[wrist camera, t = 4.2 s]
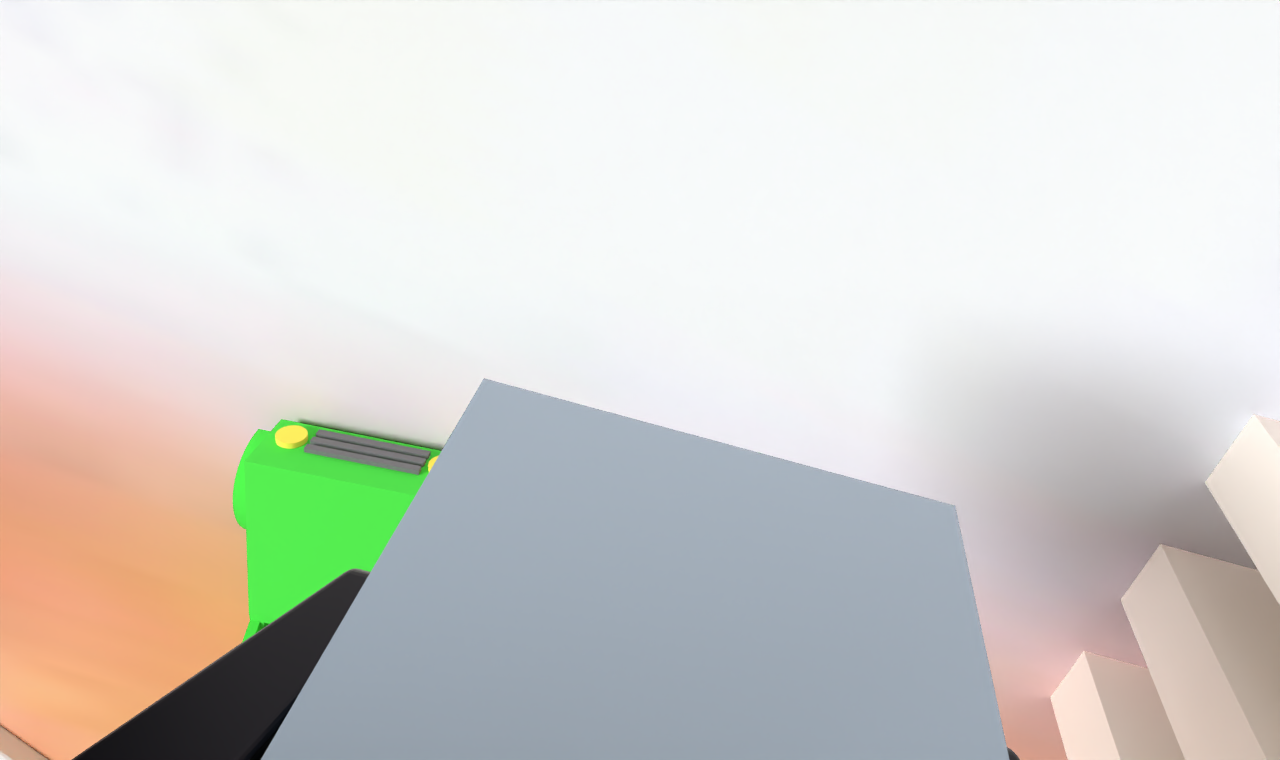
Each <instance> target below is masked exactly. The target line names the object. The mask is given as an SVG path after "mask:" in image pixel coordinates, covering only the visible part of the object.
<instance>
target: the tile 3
mask: <svg viewBox="0 0 1280 760" xmlns="http://www.w3.org/2000/svg"><path fill="white" fill-rule="evenodd" d="M1205 484H1206V485H1207V487H1208V489H1209V490H1210V492H1211V493H1212V495H1213V497H1214V498H1215V500H1216V502H1217V503H1218V505H1219V507H1220V508H1221V510H1222V512H1223V513H1224V515H1225V516H1226V518H1227V520H1228V521H1229V523H1230V525H1231V526H1232V528H1233V530H1234V531H1235V533H1236V534H1237V536H1238V538H1239V539H1240V541H1241V543H1242V544H1243V546H1244V548H1245V549H1246V551H1247V553H1248V554H1249V556H1250V557H1251V559H1252V561H1253V562H1254V564H1255V566H1256V567H1257V569H1258V571H1259V572H1260V574H1261V576H1262V577H1263V579H1264V580H1265V582H1266V584H1267V585H1268V587H1269V589H1270V590H1271V592H1272V594H1273V595H1274V597H1275V598H1276V600H1277V602H1278V603H1279V605H1280V421H1277V420H1274V419H1270V418H1266V417H1262V416H1259V415H1255V414H1253V416H1252V417H1251V418H1250V420H1249V421H1248V423H1247V424H1246V425H1245V427H1244V428H1243V430H1242V431H1241V432H1240V434H1239V435H1238V437H1237V438H1236V439H1235V441H1234V442H1233V444H1232V445H1231V446H1230V448H1229V449H1228V451H1227V452H1226V453H1225V455H1224V456H1223V458H1222V459H1221V460H1220V462H1219V463H1218V465H1217V466H1216V467H1215V469H1214V470H1213V472H1212V473H1211V474H1210V476H1209V477H1208V478H1207V480H1206V481H1205Z"/></svg>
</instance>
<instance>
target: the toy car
mask: <svg viewBox="0 0 1280 760" xmlns="http://www.w3.org/2000/svg"><path fill="white" fill-rule="evenodd" d="M440 453H441V451H440V450H435V449H430V448H425V447H419V446H414V445H409V444H404V443H399V442H394V441H389V440H384V439H379V438H374V437H369V436H364V435H359V434H353V433H348V432H343V431H338V430H333V429H328V428H323V427H318V426H313V425H308V424H303V423H298V422H293V421H287V420H282V419H281V420H280V422H279V423H278V424H277V425H276V426H275V427H274V428H273V429H272V431H266V430H261V429H258V431H257V432H256V433H255V434H254V436H253V437H252V439H251V440H250V442H249V444H248V445H247V447H246V449H245V451H244V454H243V456H242V458H241V461H240V464H239V467H238V470H237V474H236V478H235V483H234V490H233V509H234V514H235V518H236V520H237V522H238V524H239V525H240V526H241V527H242V528H244V529H246V535H247V567H248V598H249V616H250V622H249V625H248V628H247V630H246V633H245V636H244V639H243V642H244V641H245V640H247V639H248V638H250V637H251V636H253V635H254V634H255V633H257V632H258V631H260V630H261V629H263V628H264V627H266V626H267V625H269V624H270V623H271V622H273V621H274V620H276V619H277V618H279V617H280V616H282V615H283V614H285V613H286V612H288V611H289V610H290V609H292V608H293V607H295V606H296V605H298V604H299V603H301V602H302V601H304V600H305V599H306V598H308V597H309V596H311V595H312V594H314V593H315V592H317V591H318V590H320V589H321V588H322V587H324V586H325V585H327V584H328V583H330V582H331V581H333V580H334V579H336V578H337V577H339V576H340V575H341V574H343V573H344V572H346V571H348V570H350V569H355V568H356V569H362V570H365V571H369V572H371V571H372V569H373V567H374V565H375V564H376V562H377V560H378V559H379V557H380V555H381V554H382V552H383V550H384V548H385V547H386V545H387V543H388V542H389V540H390V538H391V536H392V535H393V533H394V531H395V530H396V528H397V526H398V524H399V523H400V521H401V519H402V518H403V516H404V514H405V513H406V511H407V509H408V507H409V506H410V504H411V502H412V501H413V499H414V497H415V495H416V494H417V492H418V490H419V489H420V487H421V485H422V484H423V482H424V480H425V478H426V477H427V475H428V473H429V472H430V470H431V468H432V466H433V465H434V463H435V461H436V460H437V458H438V456H439V455H440Z"/></svg>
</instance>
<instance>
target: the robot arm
mask: <svg viewBox="0 0 1280 760" xmlns="http://www.w3.org/2000/svg"><path fill="white" fill-rule="evenodd" d="M369 574H370V572H369V571H365V570H362V569H356V568H355V569H350V570H348V571H346V572H344V573H343V574H341V575H340V576H339V577H337V578H336V579H334V580H333V581H331V582H330V583H328V584H327V585H325V586H324V587H322V588H321V589H320V590H318V591H317V592H315V593H314V594H312V595H311V596H309V597H308V598H306V599H305V600H304V601H302V602H301V603H299V604H298V605H296V606H295V607H293V608H292V609H290V610H289V611H288V612H286V613H285V614H283V615H282V616H280V617H279V618H277V619H276V620H274V621H273V622H271V623H270V624H269V625H267V626H266V627H264V628H263V629H261V630H260V631H258V632H257V633H255V634H254V635H253V636H251V637H250V638H248V639H247V640H245V641H244V642H242V643H241V644H239V645H238V646H237V647H235V648H234V649H232V650H231V651H229V652H228V653H226V654H225V655H223V656H222V657H220V658H219V659H218V660H216V661H215V662H213V663H212V664H210V665H209V666H207V667H206V668H204V669H203V670H202V671H200V672H199V673H197V674H196V675H194V676H193V677H191V678H190V679H188V680H187V681H186V682H184V683H183V684H181V685H180V686H178V687H177V688H175V689H174V690H172V691H171V692H170V693H168V694H167V695H165V696H164V697H162V698H161V699H159V700H158V701H156V702H155V703H153V704H152V705H151V706H149V707H148V708H146V709H145V710H143V711H142V712H140V713H139V714H137V715H136V716H135V717H133V718H132V719H130V720H129V721H127V722H126V723H124V724H123V725H121V726H120V727H119V728H117V729H116V730H114V731H113V732H111V733H110V734H108V735H107V736H105V737H104V738H102V739H101V740H100V741H98V742H97V743H95V744H94V745H92V746H91V747H89V748H88V749H86V750H85V751H84V752H82V753H81V754H79V755H78V756H76V757H75V758H73V759H72V760H261V758H262V757H263V755H264V753H265V752H266V750H267V748H268V746H269V745H270V743H271V741H272V740H273V738H274V736H275V734H276V733H277V731H278V729H279V728H280V726H281V724H282V723H283V721H284V719H285V717H286V716H287V714H288V712H289V711H290V709H291V707H292V705H293V704H294V702H295V700H296V699H297V697H298V695H299V694H300V692H301V690H302V688H303V687H304V685H305V683H306V682H307V680H308V678H309V676H310V675H311V673H312V671H313V670H314V668H315V666H316V664H317V663H318V661H319V659H320V658H321V656H322V654H323V653H324V651H325V649H326V647H327V646H328V644H329V642H330V641H331V639H332V637H333V635H334V634H335V632H336V630H337V629H338V627H339V625H340V624H341V622H342V620H343V618H344V617H345V615H346V613H347V612H348V610H349V608H350V606H351V605H352V603H353V601H354V600H355V598H356V596H357V594H358V593H359V591H360V589H361V588H362V586H363V584H364V583H365V581H366V579H367V577H368V576H369ZM1007 751H1008V755H1009V760H1020V759H1019V758H1018V756H1017V755H1016V754H1015V753H1014V752H1013V751H1012V750H1011V749H1009V748H1008V747H1007Z"/></svg>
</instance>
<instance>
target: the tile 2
mask: <svg viewBox="0 0 1280 760" xmlns="http://www.w3.org/2000/svg"><path fill="white" fill-rule="evenodd" d="M1121 603H1122V605H1123V607H1124V610H1125V612H1126V615H1127V617H1128V620H1129V622H1130V625H1131V627H1132V630H1133V632H1134V635H1135V637H1136V640H1137V642H1138V644H1139V647H1140V649H1141V652H1142V654H1143V657H1144V659H1145V662H1146V664H1147V667H1148V669H1149V672H1150V674H1151V677H1152V679H1153V682H1154V684H1155V686H1156V689H1157V691H1158V694H1159V696H1160V699H1161V701H1162V704H1163V706H1164V709H1165V711H1166V714H1167V716H1168V719H1169V721H1170V724H1171V726H1172V728H1173V731H1174V733H1175V736H1176V738H1177V741H1178V743H1179V746H1180V748H1181V751H1182V753H1183V756H1184V758H1185V760H1280V605H1279V603H1278V602H1277V600H1276V598H1275V597H1274V595H1273V594H1272V592H1271V590H1270V589H1269V587H1268V585H1267V584H1266V582H1265V580H1264V579H1263V577H1262V576H1261V574H1260V572H1259V571H1258V570H1255V569H1252V568H1248V567H1244V566H1241V565H1237V564H1233V563H1229V562H1226V561H1222V560H1218V559H1215V558H1211V557H1207V556H1204V555H1200V554H1196V553H1192V552H1189V551H1185V550H1181V549H1178V548H1174V547H1170V546H1166V545H1163V544H1160V545H1159V547H1158V548H1157V549H1156V551H1155V552H1154V554H1153V555H1152V556H1151V558H1150V559H1149V561H1148V562H1147V563H1146V565H1145V566H1144V568H1143V569H1142V570H1141V572H1140V573H1139V575H1138V576H1137V577H1136V579H1135V580H1134V582H1133V583H1132V584H1131V586H1130V587H1129V589H1128V590H1127V591H1126V593H1125V594H1124V595H1123V597H1122V598H1121Z"/></svg>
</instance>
